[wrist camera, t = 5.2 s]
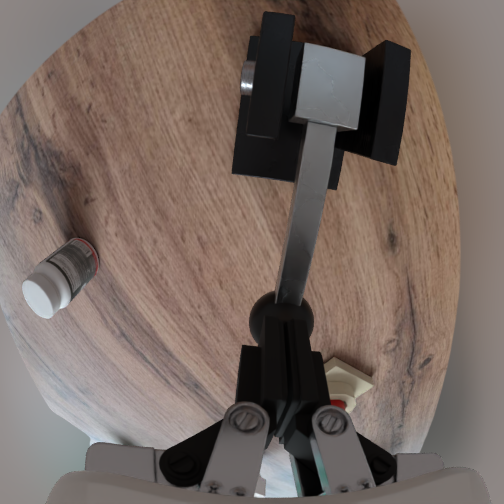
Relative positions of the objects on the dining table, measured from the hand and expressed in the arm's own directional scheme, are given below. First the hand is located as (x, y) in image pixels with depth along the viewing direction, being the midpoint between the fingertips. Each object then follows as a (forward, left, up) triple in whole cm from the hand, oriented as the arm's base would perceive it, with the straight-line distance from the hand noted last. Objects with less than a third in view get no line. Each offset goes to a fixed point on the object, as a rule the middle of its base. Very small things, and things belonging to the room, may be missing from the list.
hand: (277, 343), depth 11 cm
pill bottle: (+14, +14, -13) cm, 24 cm away
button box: (-19, +12, -13) cm, 26 cm away
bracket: (+5, -9, -13) cm, 16 cm away
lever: (+2, -4, -3) cm, 6 cm away
